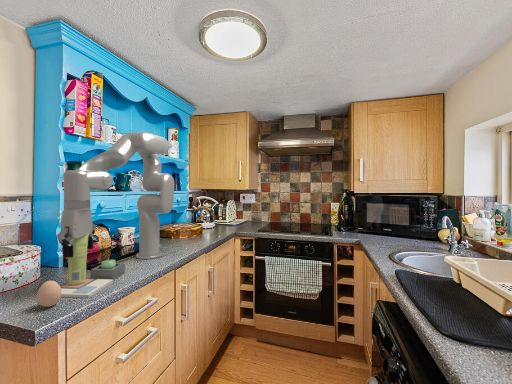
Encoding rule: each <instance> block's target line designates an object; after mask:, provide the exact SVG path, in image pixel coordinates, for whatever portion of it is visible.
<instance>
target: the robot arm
mask: <svg viewBox="0 0 512 384" xmlns="http://www.w3.org/2000/svg"><path fill="white" fill-rule="evenodd" d="M169 147H170V143H169V141H168V140H167V139H166V137H163V136H160V135H157V134H155V133H151V132H147V131H137V132H135V131H133V132H126V133H124V134H123V135H121V137H120V138H119V139H117V140H116V141H115V143H114V144H112V146H110V148H108V150H106V151H103V152H101V153H100V154H97V155H95V156H94V157H92V158H90V159H88V160H86V161H85V162H83V164H82V165H80V166H79V167H78V168H77V169H76V170H74V169H73V170H71V169H69V170H65V171H64V172H63V177H62V178H63V200H64V201H63V206H64V207H63V208H64V209H63V210H62V214H61V218H60V231H59V233H57V234H56V239H57V240H58V243H59V244H60V246H62V257H63V258H68V257H73V245H72V243H73V241H74V239H76V238H80V237H83V236H85V235H88V234H89V236H88V246H87V250H93V249H94V237H95V233H96V229H97V225H96V224H95V223H93V215H92V209H91V191H104V190H107V189H110V187H112V186H113V183H114V178H113V176H112V175H111V173H109V172H108V171H111V170H114V169H117V168H121V167H123V166H125V165H126V164H127V163H128V162H129V161H130V160H131V158H132V157H134V155H135V154H136V153H137V154H138V155H139V156H140V158H141V160H142V163H143V169H142V170H143V171H142V182H141V185H142V186H141V187H142V188H143V190H144V191H147V192H154V193H145V194H142V195H140V196H139V197H138V199H137V201H136V204H137V206H136V207H137V210H138V220H139V225H138V226H139V227H138V229H139V230H138V233H139V234H138V236H139V239H138V240H139V241H138V243H139V244H138V245H139V246H138V247H139V248H138V249H139V250H138V251H139V252H137V253H136V254H135V258H137V259H139V260H151V259H152V260H153V259H157V258H160V257H162V256H163V251H162V250H160V248H161V247H162V244H161V243H160V237H161V236H160V235H161V234H160V229H161V228H160V227H161V226H160V217H159V216H158V214H168V213H170V212H171V211H172V209H173V206H174V199H175V198H174V197H175V179H174V177H173V176H172V175H171V174H170V173H167V172H162V162H161V160H160V158H159V157H158V155H165V154H166V153H168V151H169ZM156 192H159V193H160V194H155V193H156ZM68 239H70V240H69V242H68V241H67V240H68Z"/></svg>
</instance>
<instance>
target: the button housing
mask: <svg viewBox="0 0 512 384" xmlns="http://www.w3.org/2000/svg"><path fill="white" fill-rule="evenodd" d="M125 273H126V263H125V262H122V263H121V262H116V267H114V268H113V269H102V264H100V265H97V266H96V267H93V268H91V269H90V279H112V280H113V281H115V280H117V279H118V278H119V277H121V276H122V275H124V274H125Z"/></svg>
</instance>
